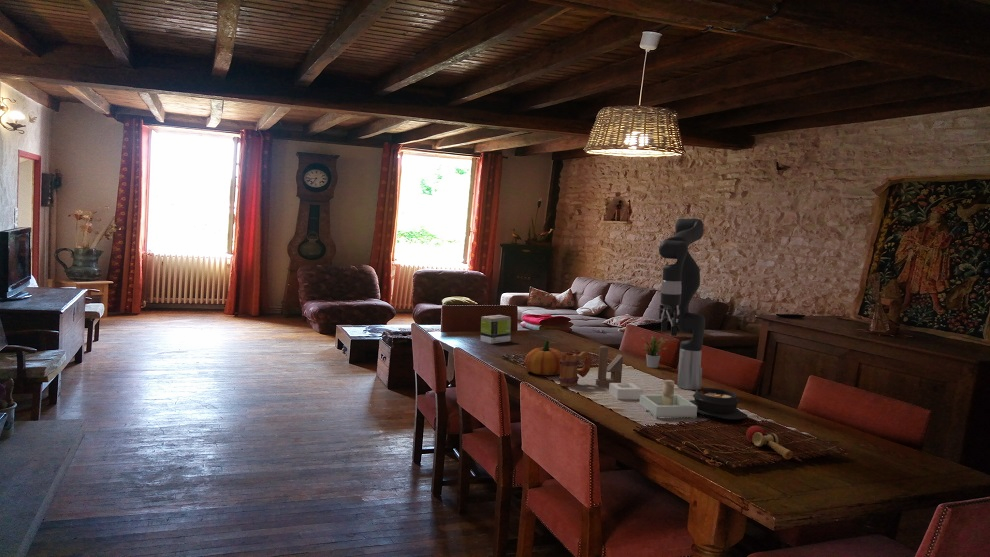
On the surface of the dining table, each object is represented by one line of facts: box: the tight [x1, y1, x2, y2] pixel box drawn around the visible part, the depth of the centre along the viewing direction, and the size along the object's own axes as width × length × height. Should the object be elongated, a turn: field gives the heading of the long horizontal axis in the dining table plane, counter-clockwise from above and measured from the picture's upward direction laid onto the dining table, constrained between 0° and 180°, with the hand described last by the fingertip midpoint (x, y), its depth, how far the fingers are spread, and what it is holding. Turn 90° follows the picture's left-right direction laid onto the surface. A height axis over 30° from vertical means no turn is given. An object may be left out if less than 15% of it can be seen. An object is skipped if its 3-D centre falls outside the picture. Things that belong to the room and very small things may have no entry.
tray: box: [639, 394, 698, 419], centre depth 247 cm, size 16×16×4 cm
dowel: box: [662, 379, 675, 406], centre depth 247 cm, size 4×4×11 cm
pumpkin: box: [524, 340, 563, 376], centre depth 302 cm, size 19×19×15 cm
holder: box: [608, 382, 642, 400], centre depth 264 cm, size 10×10×5 cm
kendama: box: [745, 425, 794, 461], centre depth 210 cm, size 8×6×18 cm
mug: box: [557, 350, 592, 388], centre depth 280 cm, size 15×8×15 cm, turn 105°
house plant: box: [642, 334, 670, 369], centre depth 325 cm, size 14×14×16 cm
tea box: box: [480, 314, 512, 345], centre depth 375 cm, size 15×10×15 cm, turn 130°
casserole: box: [688, 387, 748, 420], centre depth 247 cm, size 25×19×8 cm
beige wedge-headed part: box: [595, 345, 624, 388], centre depth 280 cm, size 4×11×18 cm, turn 111°
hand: (668, 333), depth 252 cm, fingers open, 8 cm apart
